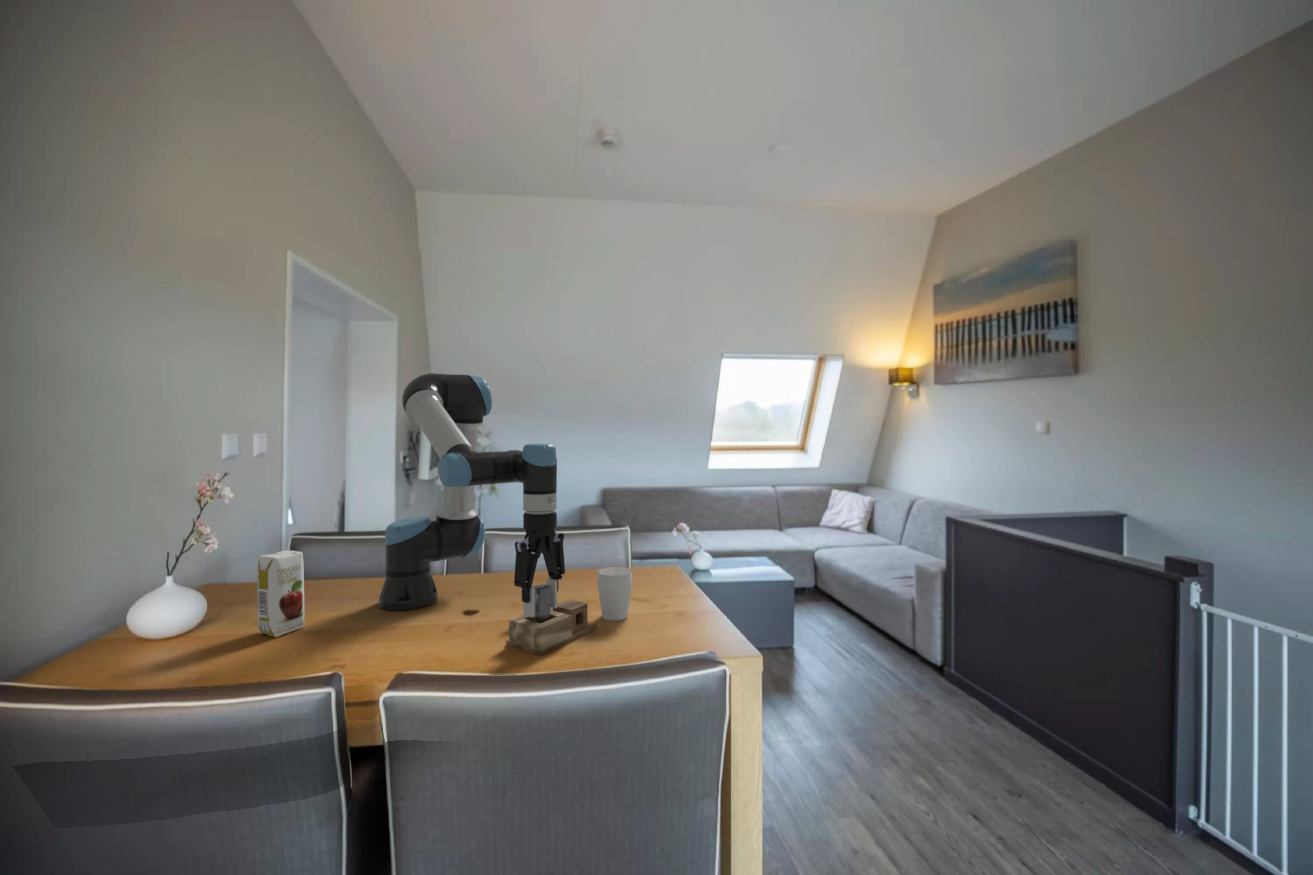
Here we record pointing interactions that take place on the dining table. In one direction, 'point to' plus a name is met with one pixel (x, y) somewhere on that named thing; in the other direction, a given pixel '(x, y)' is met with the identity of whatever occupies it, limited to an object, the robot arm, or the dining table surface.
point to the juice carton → (280, 592)
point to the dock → (576, 624)
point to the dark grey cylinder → (542, 603)
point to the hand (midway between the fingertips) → (540, 611)
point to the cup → (614, 592)
